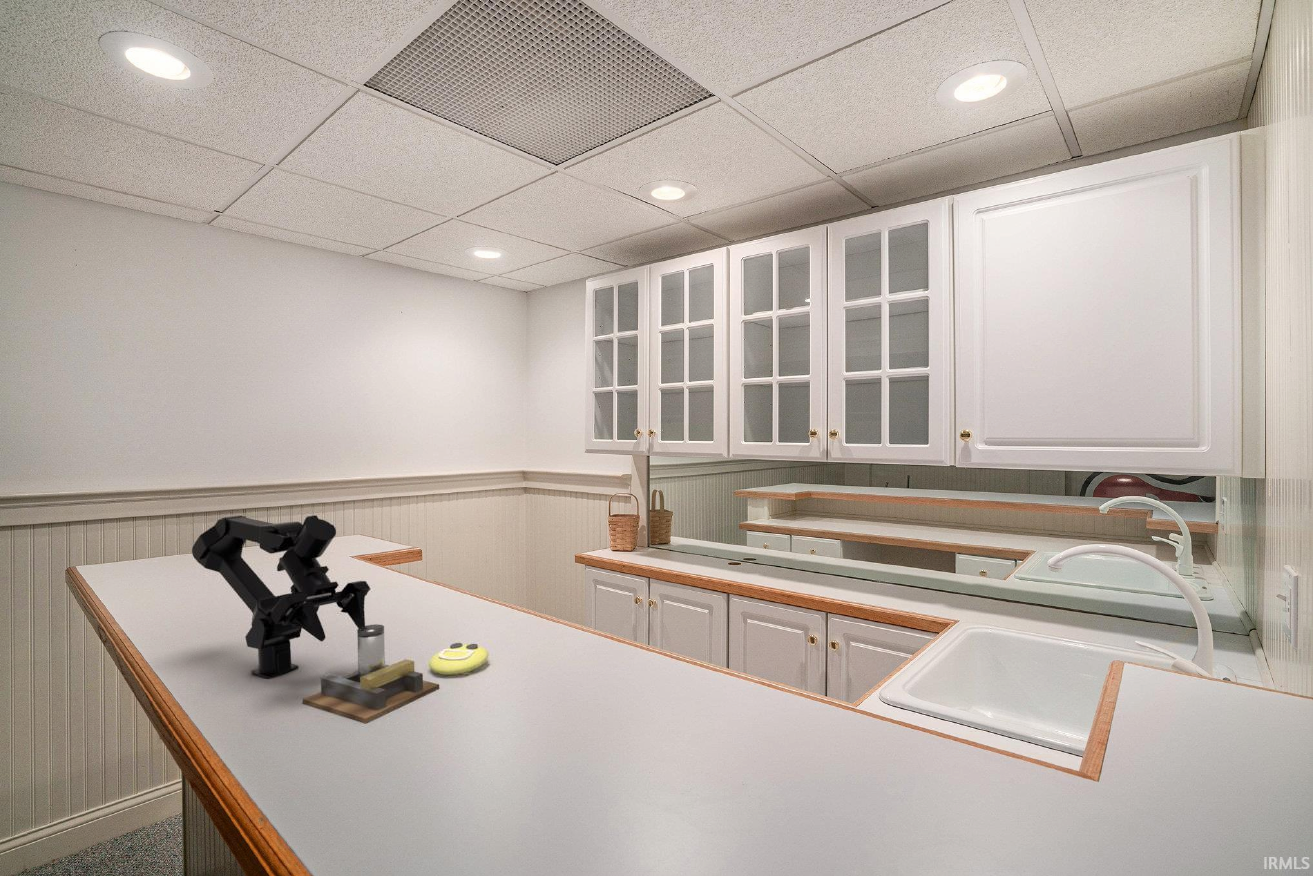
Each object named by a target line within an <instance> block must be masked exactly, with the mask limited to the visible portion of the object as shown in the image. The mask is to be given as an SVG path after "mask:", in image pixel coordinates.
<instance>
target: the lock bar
mask: <svg viewBox="0 0 1313 876" xmlns="http://www.w3.org/2000/svg"><path fill="white" fill-rule="evenodd" d="M412 672H416V671H415V661H414V660H411V659H406V658H405V659H403V660H401V661H398V662H396V663H393V664H390V665H389V666H387V667H385V668H382V669H380V670H377V671H375V672H372V673H370V674H367V675H365V676H362V677H360V687H361V689H365V690H368V691H370V690H372V689H375V688H377V687H379V686H382V685H384V684H386V683H389V682H391V681H393V680H396V679H398V678H401V677H403V676H405V675H408V674H410V673H412Z"/></svg>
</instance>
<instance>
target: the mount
mask: <svg viewBox="0 0 1313 876" xmlns="http://www.w3.org/2000/svg"><path fill="white" fill-rule="evenodd" d="M387 666H390V665H389V664H385V667H387ZM439 689H440V683H435V682H431V681H428V680H424V674H423V673H422V672H419V671H415V672H412V673H410V674H408V675H405V676H403V677H401V678H398V679H396V680H393V681H391V682H389V683H386V684H384V685H382V686H379V687H377V688H375V689H372V690H370V691H368V690H365V689H361V687H360V683H359V682H358V669H357V670H354V671H353V672H350V673H347V674H344V675H341V676H337V675H332V674H327V675H326V676H322V677H320V691H319V692H316V693H314V694H311V695H308V696H306V697H304V698H302V700H301V701H302V704H303V705H304V704H305V705H307V706H310V707H314V708H315V709H316V708H318V709H320V710H323V711H326V712H328V713H333V714H336V715H338V716H339V715H340V716H342V717H345V718H348V719H352V720H355V721H357V722H361V723H364V724H367V723H369V722H372V721H374V720H376V719H378V718H380V717H382V716H384V715H386V714H388V713H390V712H394V711H395V710H397V709H399V708H401V707H403V706H405V705H408V704H409V703H412V702H414V701H415V700H418V699H420V698H422V697H425V696H426V695H429V694H431V693H433V692H435V691H437V690H439Z"/></svg>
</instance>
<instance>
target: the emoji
mask: <svg viewBox="0 0 1313 876" xmlns="http://www.w3.org/2000/svg"><path fill="white" fill-rule="evenodd" d="M488 658H489V652H488V650H487V649H486V648H484V647H483V646H481V645H478V643H470V644H463V643H462V642H455V643H452V644H451V645H450V646H449V647H448V648H443V649H442V650H440V651H439V652H437V653H436V654H434V655H433V656H431V659H430V661H429V663H428V666H429V668H430V670H431V671H433V672H434V674H440V675H448V676H449V675H452V676H453V675H465V676H466V675H467V674H468V673H470V672H471V671H474V670H476V669H477V668H480V666H483V664H485V663H486V661H487V659H488Z"/></svg>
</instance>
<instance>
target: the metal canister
mask: <svg viewBox="0 0 1313 876" xmlns="http://www.w3.org/2000/svg"><path fill="white" fill-rule="evenodd" d="M356 633H357V634H356V635H357V670H358V682H359V683H360V677H362V676H365V675H367V674H370V673H372V672H375V671H377V670H380V669H382V668H385V665H386V661H385V659H386V657H385V656H386V655H385V626H384V625H383V624H367V625H365V626H363V627H360V628H357V630H356Z"/></svg>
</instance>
